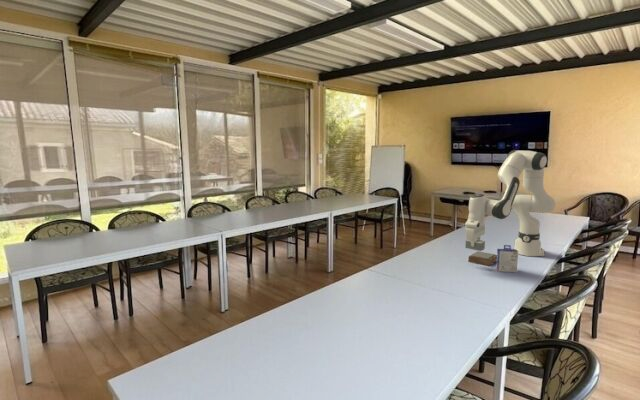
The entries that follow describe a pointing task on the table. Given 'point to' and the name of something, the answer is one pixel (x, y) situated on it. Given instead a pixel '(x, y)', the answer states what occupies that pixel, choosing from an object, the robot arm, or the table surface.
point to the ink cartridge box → (507, 259)
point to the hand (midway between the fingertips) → (475, 245)
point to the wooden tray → (482, 258)
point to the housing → (476, 245)
